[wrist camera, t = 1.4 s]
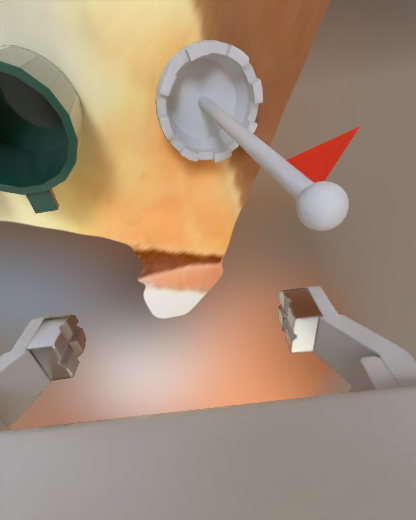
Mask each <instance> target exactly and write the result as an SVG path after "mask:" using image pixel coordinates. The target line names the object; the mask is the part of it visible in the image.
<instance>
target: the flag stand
mask: <svg viewBox="0 0 416 520" xmlns="http://www.w3.org/2000/svg"><path fill="white" fill-rule="evenodd" d="M249 59H250V58H249V57H248V56H247V55H246V54H245V53H244V52H243V51H241V50H240V49H238V48H236V47H235V46H233V45H230V44H227V43H223V42H220V41H216V40H201V41H197V42H193V43H191V44H189V45H187V46H185V47H183V48H182V49H181V50H179V51H178V52H177V53H176V54H175V55H174V56H173V57H172V58H171V59H170V61H169V62H168V63H167V65H166V66H165V68H164V70H163V72H162V74H161V76H160V79H159V82H158V86H157V91H156V113H157V117H158V120H159V124H160V126H161V128H162V130H163V133H164V135H165V137H166V139H168V141H169V142H170V143H171V145H172V146H173V147H174V148H176V149H177V150H178V151H179V153H180V155H182V156H184V157H185V158H187V159H189V160H192V161H195V162H197V161H198V159H199V160H212V159H213V160H214V162H215V163H216V162H219V161H223V160H225V159H227V158H229V157H231V156H232V154H231V152H232V151H233V150H234V149H236V148H237V147H238V146H239V145H240V146H241V147H242V148H243V149H244V150H245V151H246V152H247V153H248V154H249V155H250V156H251V157H252V158H253V159H254V160H255V161H256V162H257V163H258V164H259V165H260V166H261V167H262V168H263V169H264V170H265V171H266V172H267V173H268V174H269V175H270V176H271V177H273V178H274V179H275V180H276V181H277V182H278V183H279V184H280V185H281V186H282V187H283V188H284V189H285V190H286V191H287V192H288V193H289V194H290V195H291V196H292V197H293V198H294V199H295V200H296V201H297V203H296V211H297V216H298V218H299V220H300V221H301V222H302V223H303V225H305V226H306V227H308V228H310V229H312V230H317V231H324V230H329V229H331V228H334V227H336V226H337V225H338V224H340V222H342V221H343V219H344V218H345V216H346V214H347V212H348V207H349V201H348V197H347V195H346V193H345V191H344V190H343V189H342V188H341V187H340V186H339V185H337V184H335V183H332V182H328V181H325V179H326V178H327V176H328V174H329V173H330V171H331V170H332V168H333V167H334V165H335V164H336V162H337V161H338V159H339V158H340V156H341V154H342V153H343V151H344V150H345V148H346V147H347V145H348V144H349V142H350V141H351V139H352V138H353V136H354V135H355V133H356V132H357V130H358V128H359V127H358V128H356V129H353V130H351V131H349V132H347V133H345V134H342V135H340V136H338V137H336V138H334V139H332V140H329V141H328V142H325V143H323V144H321V145H318V146H316V147H314V148H312V149H310V150H308V151H305V152H303V153H301V154H299V155H297V156H294V157H292V158H290V159H288V160H285V159H284V158H282V157H281V156H280V155H279V154H278V153H276V152H275V151H274V150H273V149H271V148H270V147H269V146H268V145H267V144H265V143H264V142H263V141H262V140H260V139H259V138H258V137H257V136H255V135H254V132H255V130H256V128H257V126H258V124H257V123H255V119H256V115H257V112H258V105H259V103H263V90H262V85H261V80H260V79H258V78H256V75H255V73H254V70H253V67H252V66H251V64H250V63H249Z"/></svg>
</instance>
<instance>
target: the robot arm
mask: <svg viewBox="0 0 416 520" xmlns="http://www.w3.org/2000/svg"><path fill="white" fill-rule="evenodd" d="M279 299H280V302H281V305H280V306H279V311H278V312H279V321H280V325H281V328H282V330H283V331H284V332H286V341H287V344H288V347H289V349H290V352H291V353H300V352H312V351H314V353H315V354H316V355H317V356H318V357H319V358H320V359H321V360H323V361H324V362H325V363H326V364H327V365H328V366H329V367H331V368H332V369H333V370H334V371H335V372H336V373H337V374H339V375H340V376H341V377H342V378H343V379H344V380H345V381H347V382H348V383H349V384H350V385H351V388H350V391H349V393H341V394H332V395H324V396H314V397H305V398H296V399H288V400H278V401H269V402H260V403H251V404H242V405H233V406H224V407H215V408H206V409H197V410H189V411H180V412H170V413H161V414H152V415H143V416H134V417H125V418H116V419H106V420H97V421H88V422H79V423H70V424H61V425H52V426H43V427H35V428H26V429H16V430H11V429H10V428H9V427H10V426H11V425H12V424H13V423H14V422H15V421H16V420H17V418H18V417H19V416H20V415H21V414H22V413H23V412H24V411H25V410H26V409H27V408H28V406H29V405H30V404H31V403H32V402H33V401H34V400H35V399H36V398H37V397H38V396H39V395H40V393H41V392H42V391H43V390H44V389H45V388H46V387H47V386H48V385H49V384H50V383H51V381H52V380H59V379H67V378H73V377H74V375H75V372H76V369H77V367H78V364H79V361H78V359H77V358H78V356H80V355H81V354H82V353H83V351H84V348H85V342H86V338H85V333H84V331H83V329H82V328H80V327H78V326H77V323H78V320H77V318H76V316H75V315H60V316H49V317H41V318H34V319H33V320H31V321H30V323H29V324H28V326H27V327H26V329H25V330H24V332H23V333H22V335H21V336H20V338H19V339H18V341H17V342H16V344H15V346H14V347H13V349H12V350H11V352H7V353H5V354H3V355H2V356H1V357H0V520H416V362H415V360H414V359H413V358H412V356H411V355H410V354H409V353H408V352H407V351H406V350H404V349H403V348H401V347H399V346H397V345H395V344H394V343H392V342H390V341H388V340H386V339H385V338H383V337H381V336H379V335H378V334H376V333H374V332H372V331H371V330H369V329H367V328H365V327H364V326H362V325H360V324H358V323H356V322H354V321H353V320H351V319H349V318H347V317H345V316H344V315H338V313H337V312H336V310H335V309H334V307H333V306H332V304H331V302H330V301H329V299H328V298H327V296H326V294H325V293H324V291H323V290H322V288H321V287H320V286H314V287H306V288H300V289H291V290H283V291H280V294H279Z"/></svg>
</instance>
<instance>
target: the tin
mask: <svg viewBox="0 0 416 520" xmlns="http://www.w3.org/2000/svg"><path fill="white" fill-rule="evenodd" d="M82 125H83V111H82V107H81V103H80V100H79V97H78V94H77V92H76V91H75V89H74V87H73V85H72V84H71V82H70V81H69V80H68V78H67V77H66V76H65V75H64V73H63V72H62V71H61V70H60V69H59V68H58V67H56V66H55V65H54V64H53V63H52V62H50V61H49V60H48V59H46V58H45V57H43V56H41V55H40V54H38V53H36V52H33V51H31V50H28V49H25V48H22V47H18V46H14V45H8V46H7V45H3V46H0V191H4V192H10V193H16V194H22V195H23V194H24V195H25V194H26V196H27V198H28V200H29V201H30V203H31V205H32V207H33V209H34V211H35V213H42V212H48V211H54V210H58V208H59V205H58V202H57V200H56V198H55V196H54V193H53V191H52V188H53V187H55V186H57V185H58V184H60V183H62V182H63V181H65V180H66V179H67V177H68V175H69V174H70V172H71V171H72V169H73V168H74V166H75V164H76V161H77V156H78V150H79V145H80V140H81V134H82Z"/></svg>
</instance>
